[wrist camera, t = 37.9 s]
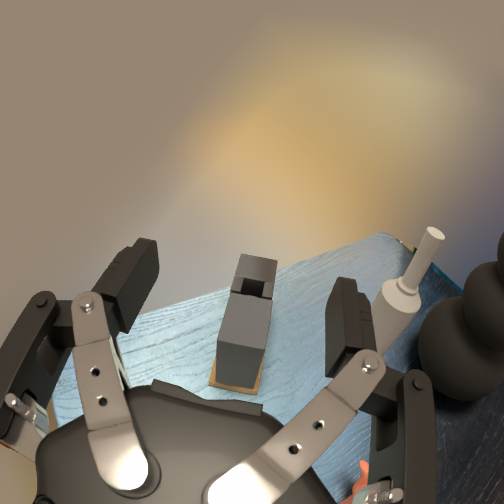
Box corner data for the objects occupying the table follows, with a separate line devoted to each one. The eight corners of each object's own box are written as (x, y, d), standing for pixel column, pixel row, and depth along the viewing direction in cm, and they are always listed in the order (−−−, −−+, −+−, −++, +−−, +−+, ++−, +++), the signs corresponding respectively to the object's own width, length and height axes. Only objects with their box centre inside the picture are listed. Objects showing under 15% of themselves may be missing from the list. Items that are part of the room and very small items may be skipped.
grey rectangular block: (215, 381, 35) (216, 340, 29) (229, 328, 42) (234, 280, 36) (253, 389, 35) (265, 349, 29) (262, 335, 42) (274, 288, 36)
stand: (208, 385, 36) (208, 339, 29) (231, 303, 48) (237, 249, 41) (256, 395, 36) (270, 352, 29) (270, 311, 48) (283, 258, 41)
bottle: (327, 370, 40) (406, 227, 24) (346, 350, 43) (420, 212, 27) (354, 391, 37) (452, 257, 21) (371, 369, 40) (460, 237, 24)
